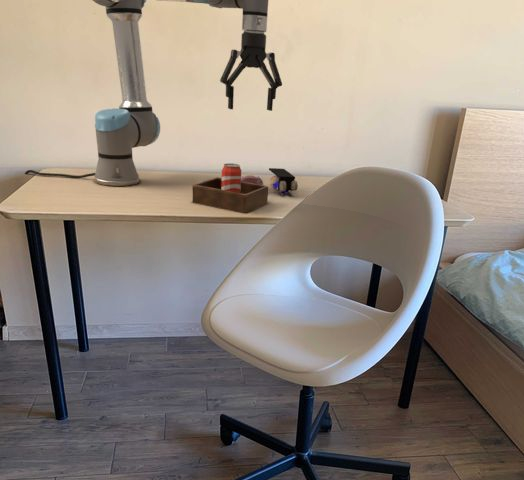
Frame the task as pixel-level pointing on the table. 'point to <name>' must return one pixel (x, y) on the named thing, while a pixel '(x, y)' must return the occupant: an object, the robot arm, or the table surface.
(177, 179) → the table surface
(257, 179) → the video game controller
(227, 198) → the brown wooden box
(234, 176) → the beverage can
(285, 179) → the figurine character
